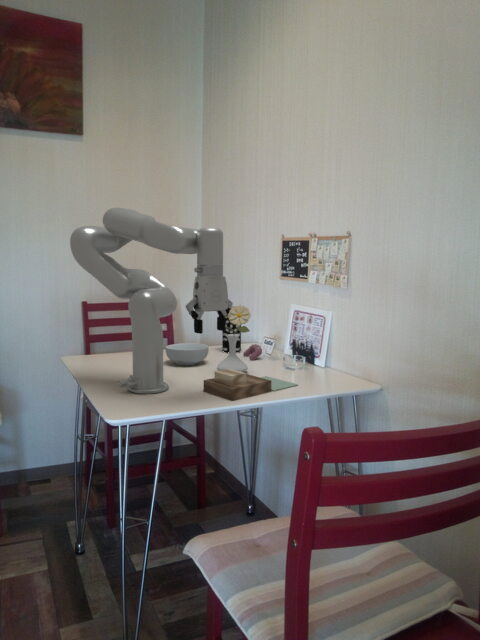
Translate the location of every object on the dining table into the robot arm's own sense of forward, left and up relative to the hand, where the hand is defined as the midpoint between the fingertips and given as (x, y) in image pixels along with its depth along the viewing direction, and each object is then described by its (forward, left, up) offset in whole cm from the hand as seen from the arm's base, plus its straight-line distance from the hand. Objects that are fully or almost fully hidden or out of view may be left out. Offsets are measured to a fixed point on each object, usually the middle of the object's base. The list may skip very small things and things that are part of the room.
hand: (209, 331), depth 142 cm
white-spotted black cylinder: (+53, +52, -20) cm, 77 cm away
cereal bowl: (+23, +44, -20) cm, 54 cm away
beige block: (+8, 0, -15) cm, 17 cm away
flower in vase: (+27, +20, -20) cm, 39 cm away
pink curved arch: (+50, +35, -20) cm, 65 cm away
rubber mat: (+25, 0, -20) cm, 32 cm away
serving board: (+11, 0, -20) cm, 23 cm away
